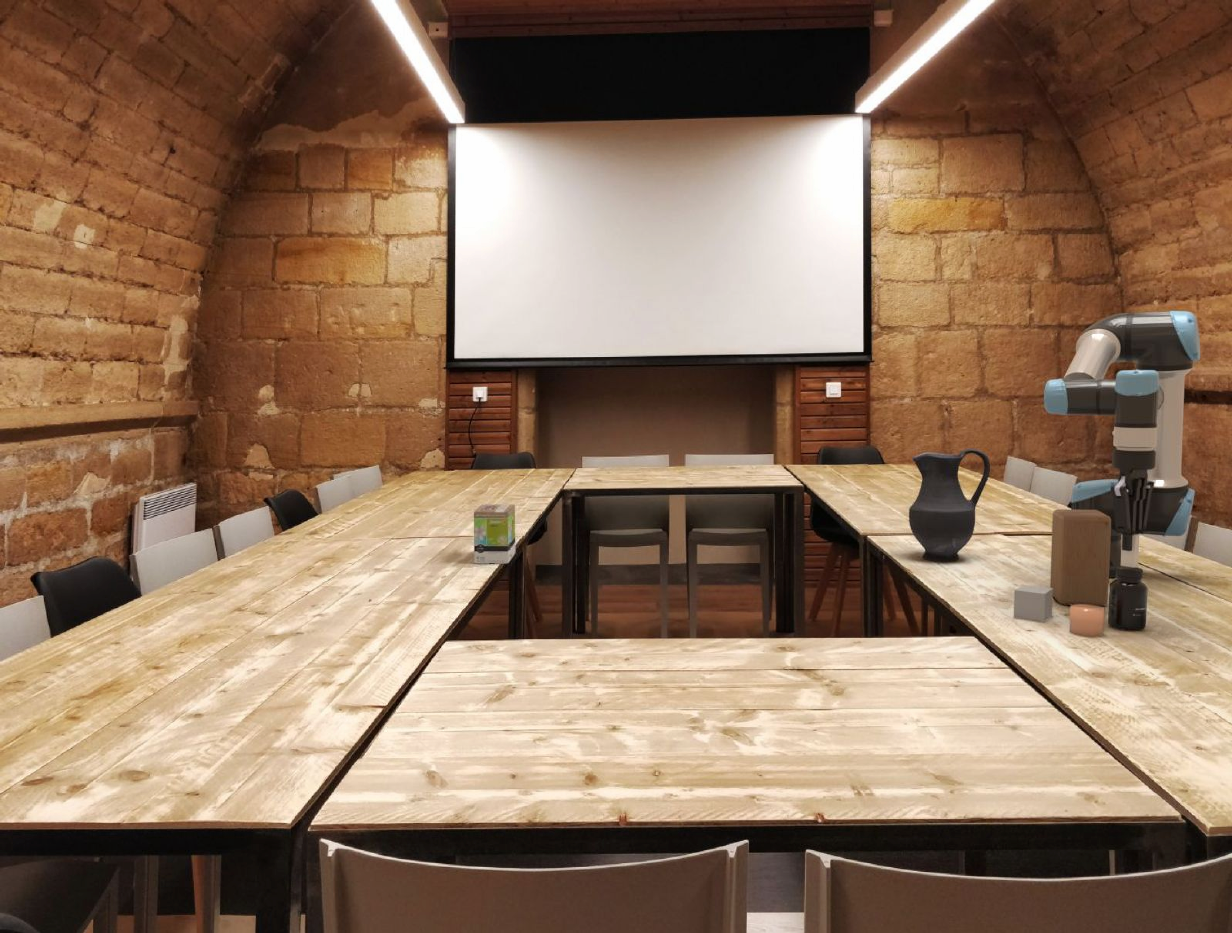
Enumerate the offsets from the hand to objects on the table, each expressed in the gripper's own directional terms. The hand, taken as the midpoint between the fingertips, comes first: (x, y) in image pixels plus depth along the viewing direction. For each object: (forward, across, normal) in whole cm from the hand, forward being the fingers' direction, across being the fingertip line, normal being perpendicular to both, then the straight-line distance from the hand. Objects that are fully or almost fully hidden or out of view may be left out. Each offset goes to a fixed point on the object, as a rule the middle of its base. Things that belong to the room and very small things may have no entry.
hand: (1129, 566), depth 193 cm
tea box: (+13, +64, -144) cm, 158 cm away
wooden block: (+13, -13, -17) cm, 25 cm away
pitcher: (+13, -31, -63) cm, 71 cm away
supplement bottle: (+13, 0, 0) cm, 13 cm away
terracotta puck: (+13, +10, -3) cm, 16 cm away
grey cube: (+13, +7, -16) cm, 22 cm away
